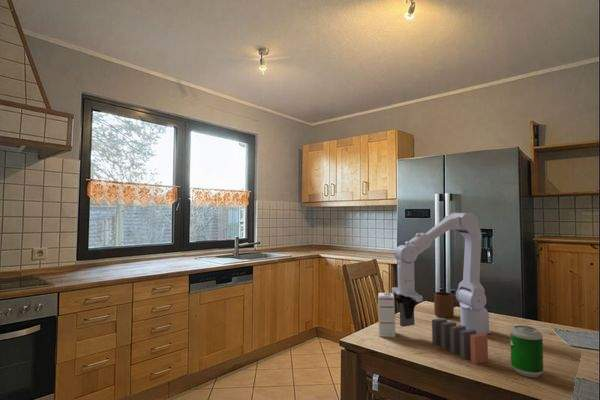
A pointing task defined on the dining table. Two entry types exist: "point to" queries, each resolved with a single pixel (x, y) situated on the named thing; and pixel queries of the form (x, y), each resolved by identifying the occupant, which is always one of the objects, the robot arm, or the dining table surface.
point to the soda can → (526, 351)
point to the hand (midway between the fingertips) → (407, 317)
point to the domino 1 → (403, 319)
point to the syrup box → (386, 314)
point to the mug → (444, 304)
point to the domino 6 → (479, 348)
